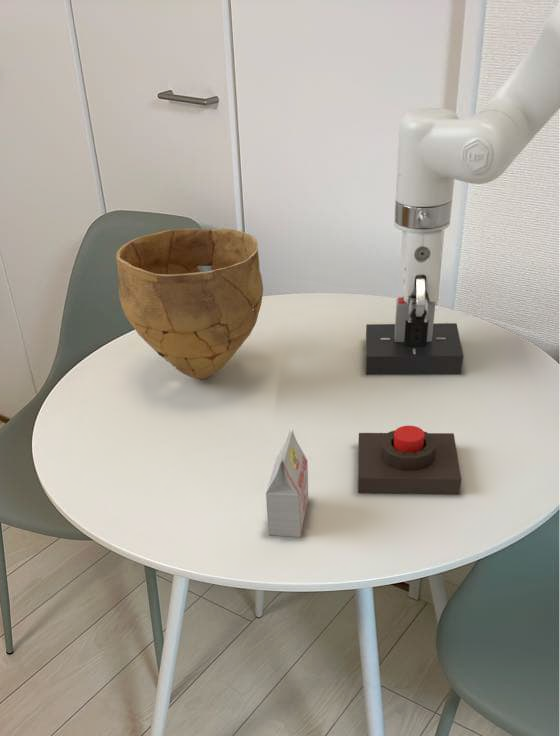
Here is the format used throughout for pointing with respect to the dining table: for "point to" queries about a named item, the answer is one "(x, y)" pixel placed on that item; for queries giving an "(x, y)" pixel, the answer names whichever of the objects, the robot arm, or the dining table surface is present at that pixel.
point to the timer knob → (403, 316)
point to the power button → (409, 439)
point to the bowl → (192, 294)
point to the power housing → (408, 465)
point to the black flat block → (413, 352)
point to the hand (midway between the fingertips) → (413, 332)
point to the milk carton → (288, 490)
